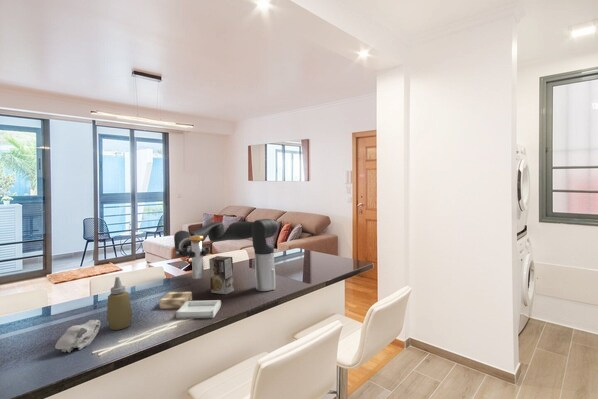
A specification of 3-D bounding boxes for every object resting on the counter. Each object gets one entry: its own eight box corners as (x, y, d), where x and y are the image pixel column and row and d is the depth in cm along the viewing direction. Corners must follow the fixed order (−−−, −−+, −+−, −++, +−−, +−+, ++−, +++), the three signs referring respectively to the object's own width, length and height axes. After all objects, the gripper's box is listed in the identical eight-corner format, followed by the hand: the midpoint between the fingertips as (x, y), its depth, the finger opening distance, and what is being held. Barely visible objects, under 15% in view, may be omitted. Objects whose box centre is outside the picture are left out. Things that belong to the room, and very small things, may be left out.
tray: (221, 306, 136) (220, 300, 136) (213, 317, 124) (213, 311, 124) (187, 306, 136) (187, 301, 136) (176, 318, 124) (176, 312, 124)
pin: (206, 275, 132) (204, 235, 131) (202, 279, 127) (201, 237, 126) (193, 275, 132) (191, 235, 131) (189, 279, 127) (187, 237, 126)
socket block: (192, 299, 145) (191, 291, 145) (184, 307, 135) (183, 299, 135) (169, 300, 145) (169, 292, 145) (159, 308, 135) (159, 300, 135)
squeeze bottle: (137, 323, 121) (135, 275, 120) (119, 333, 113) (116, 281, 112) (120, 321, 124) (118, 273, 123) (101, 330, 116) (98, 279, 115)
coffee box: (234, 290, 156) (233, 256, 155) (226, 294, 150) (224, 259, 150) (218, 288, 160) (217, 255, 159) (210, 292, 154) (208, 258, 153)
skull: (47, 345, 100) (76, 308, 108) (71, 357, 106) (97, 321, 113) (59, 349, 96) (88, 311, 104) (83, 361, 101) (110, 324, 109)
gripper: (206, 253, 145) (217, 261, 130) (172, 258, 138) (179, 266, 123) (205, 237, 145) (216, 242, 130) (171, 240, 138) (178, 246, 123)
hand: (198, 254), depth 127 cm, fingers closed on pin, 4 cm apart
